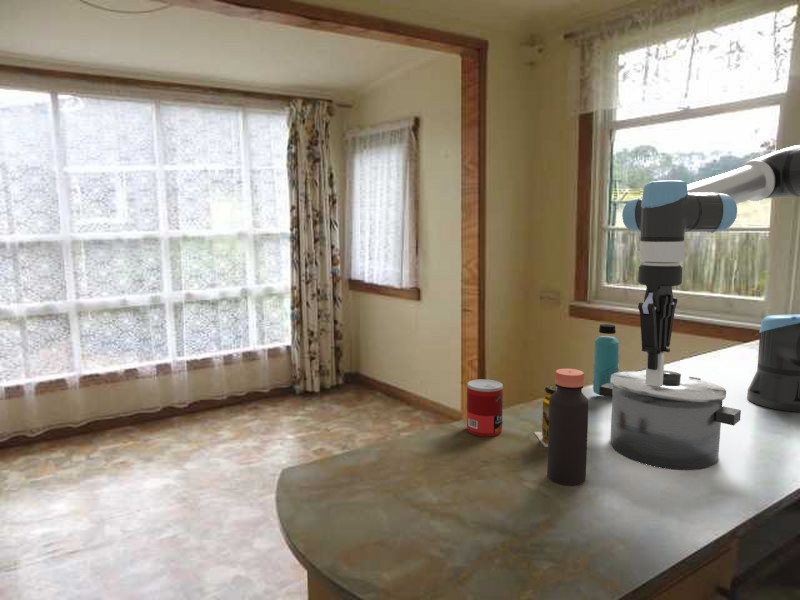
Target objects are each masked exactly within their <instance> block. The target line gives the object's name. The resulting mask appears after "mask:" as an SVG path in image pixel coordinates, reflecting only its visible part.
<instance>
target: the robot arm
mask: <svg viewBox="0 0 800 600" xmlns="http://www.w3.org/2000/svg"><path fill="white" fill-rule="evenodd" d="M793 197H794V198H797V197H800V144H797V145H792V146H789V147H785V148H781V149H780V150H776V151H772V152H769V153H767V154H765V155H762V156H759V157H756V158H754V159H751V160H747V161H745V162H744V163H742V164H741V165H740V166H739V167H738V168H737V169H733V170H730V171H728V172H727V171H726V172H725V173H721V174H718V175H715V176H712V177H709V178H705V179H702V180H699V181H695V182H692V183H689V184H688V183H687V182H686V181H685V180H680V179H679V180H677V179H676V180H671V179H670V180H657V181H654V180H653V181H650V182H649V181H648V183H646V184H645V185H644V186H643V190H642V196H640V197H635V198H632V199H630V200H628V201H627V202H626V204H625V205H624V207H623V209H622V213H621V214H622V215H621V216H622V223H623V225H624V226H625V227H626V228H627V230H629V231H632V232H635V233H636V232H640V239H639V240H640V241H639V242H640V243H639V244H640V245H639V246H638V247H637V250H638V251H639V259H638V260H639V262H641V263H642V264H640V265H639V266H638V272H637V273H638V274H637V275H638V277H637V278H638V279H637V282H638V284H640V285H642V286H646V290H645V294H644V298H643V299H644V300H643V302H639V303H638V307H637V308H638V311H639V319H640V335H641V336H640V337H641V351H642V352H645V353H646V364H645V365H646V369H645V372H646V384H648V385H653V386H658V387H661V386H662V385H663V372H664V371H665V370H664V369H665V355H666V354H665V352H666V353H670V351H671V348H669V347H670V346H671V337H672V332H673V325H674V318H675V311H676V307H677V304H678V298H677V297H674V295H673V287H679V286H680V285H682V283H683V267H682V265H681V263H683V262H684V254H685V235H686V234H685V233H713V234H714V233H715V232H723V231H726V230H727V229H729V228H730V227H731V226H732V225H734V223H735V221H736V219H737V216H738V214H737V213H738V205H737V204H740V203H743V202H746V201H751V202H759V201H763V200H766V199H770V198H771V199H772V198H793ZM758 339H759V341H758V355H757V356H758V357H757V366H756V367H757V368H756V372H755V374H754V376H753V378H752V381H751V382H750V384H749V386H748V389H747V393H746V395H747V397H746V398H747V400H748V401H749V402H751V403H753V404H755V405H758V406H761V407H764V408H768V409H774V410H777V411H778V410H779V411H786V412H797V413H800V314H799V313H798V314H795V313H793V314H774V315H773V314H771V315H767V316H765V317H763V318H762V319H761V323H760V328H759V338H758Z"/></svg>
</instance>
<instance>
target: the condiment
mask: <svg viewBox="0 0 800 600" xmlns="http://www.w3.org/2000/svg"><path fill="white" fill-rule="evenodd" d="M555 384H556V383H555ZM555 384H548V385H546V386H545V389H544V391H545V392H544V396H545V397H543V399H542V400H543V401H542V419H541V420H542V423H541V427H542V429H541V431H533V433H534V434H535V436H536V437H537V439H538V440H539V441H540V443H541V444H542V445H543V446H544V447H545V448H548V428H549V399H550V396H551V395H552V394H553V393H554V392H555V391H556V390H557V387H556V386H555Z"/></svg>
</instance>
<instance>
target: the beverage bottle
mask: <svg viewBox="0 0 800 600" xmlns="http://www.w3.org/2000/svg"><path fill="white" fill-rule="evenodd" d="M616 331H617V330H616V325H615V324H609V323H602V324H600V325H599V329H598V333H600V334H606V335H600V336H598V337H597V338H596V339H595V340H594V355H593V356H594V357H593V358H594V359H593V360H594V361H593V372H592V373H593V375H592V376H593V377H592V378H593V379H592V391H593V393H594V394H596V395H599V389H600V386H601V385H604V384H606V383H611V375H612V374H614V373H618V372H620V370H619V368H620V367H619V365H620V342H621V341H619V339H617V338H616V337H615V336H609V335H610V334H611V335H613V334H616V333H617V332H616Z"/></svg>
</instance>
